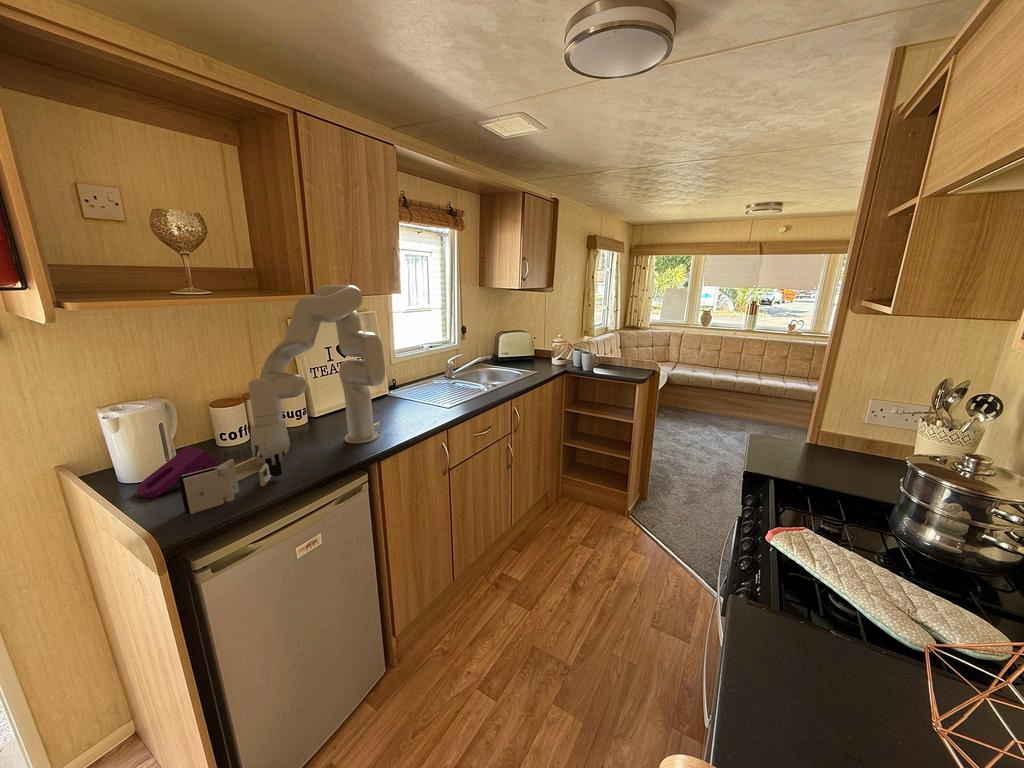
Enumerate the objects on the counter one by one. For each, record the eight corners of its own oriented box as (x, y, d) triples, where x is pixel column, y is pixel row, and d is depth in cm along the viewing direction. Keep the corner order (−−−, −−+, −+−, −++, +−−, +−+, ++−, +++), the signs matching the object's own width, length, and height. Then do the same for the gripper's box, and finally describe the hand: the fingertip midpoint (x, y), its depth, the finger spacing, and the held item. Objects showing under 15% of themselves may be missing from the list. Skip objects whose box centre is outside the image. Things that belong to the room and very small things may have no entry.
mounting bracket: (168, 515, 119) (222, 468, 131) (147, 497, 114) (205, 450, 126) (151, 507, 123) (205, 463, 135) (130, 490, 118) (188, 445, 131)
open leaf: (274, 465, 137) (273, 453, 136) (278, 465, 137) (277, 452, 136) (260, 486, 123) (258, 472, 122) (265, 485, 123) (263, 471, 122)
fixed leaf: (273, 462, 140) (271, 449, 139) (280, 463, 139) (278, 450, 138) (223, 486, 124) (220, 471, 123) (230, 487, 123) (228, 472, 122)
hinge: (237, 490, 121) (232, 458, 119) (247, 495, 119) (242, 462, 116) (182, 511, 110) (175, 477, 107) (191, 517, 107) (184, 482, 105)
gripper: (278, 410, 131) (286, 463, 135) (235, 425, 117) (245, 484, 121) (297, 412, 129) (304, 466, 133) (255, 427, 115) (264, 487, 119)
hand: (276, 474), depth 127 cm, fingers closed
